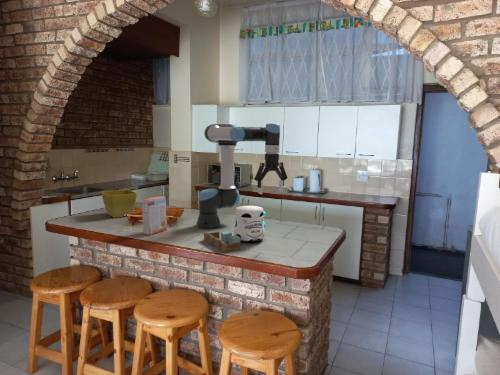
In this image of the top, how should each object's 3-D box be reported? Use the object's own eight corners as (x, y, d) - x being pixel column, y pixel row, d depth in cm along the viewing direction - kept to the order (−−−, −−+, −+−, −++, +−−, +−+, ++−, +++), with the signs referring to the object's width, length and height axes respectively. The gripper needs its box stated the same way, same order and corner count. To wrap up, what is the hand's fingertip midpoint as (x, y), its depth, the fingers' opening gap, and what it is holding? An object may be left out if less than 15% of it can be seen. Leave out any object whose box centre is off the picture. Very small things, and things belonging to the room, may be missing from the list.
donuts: (252, 213, 221) (248, 209, 231) (252, 228, 223) (248, 224, 232) (268, 212, 224) (263, 209, 233) (267, 227, 225) (263, 224, 235)
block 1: (220, 240, 199) (220, 232, 198) (227, 238, 202) (227, 231, 201) (224, 242, 195) (224, 234, 195) (231, 241, 198) (231, 233, 197)
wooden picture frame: (203, 239, 199) (203, 232, 198) (218, 237, 204) (218, 229, 203) (224, 252, 179) (224, 243, 178) (240, 249, 184) (240, 241, 183)
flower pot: (128, 211, 267) (127, 189, 264) (138, 216, 252) (137, 192, 250) (102, 214, 255) (100, 191, 252) (111, 219, 240) (109, 195, 238)
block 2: (228, 244, 192) (228, 236, 191) (235, 243, 194) (236, 235, 193) (232, 246, 188) (232, 238, 187) (240, 245, 190) (240, 237, 190)
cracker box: (159, 228, 220) (158, 195, 217) (167, 230, 217) (166, 196, 214) (142, 234, 209) (141, 199, 205) (149, 235, 205) (148, 200, 202)
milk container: (255, 246, 189) (256, 213, 186) (228, 241, 197) (228, 209, 195) (269, 238, 204) (270, 207, 201) (243, 233, 212) (244, 204, 210)
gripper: (256, 154, 177) (255, 195, 181) (294, 153, 191) (293, 192, 194) (248, 153, 184) (247, 193, 187) (286, 152, 197) (284, 190, 200)
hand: (270, 192), depth 191 cm, fingers open, 13 cm apart
